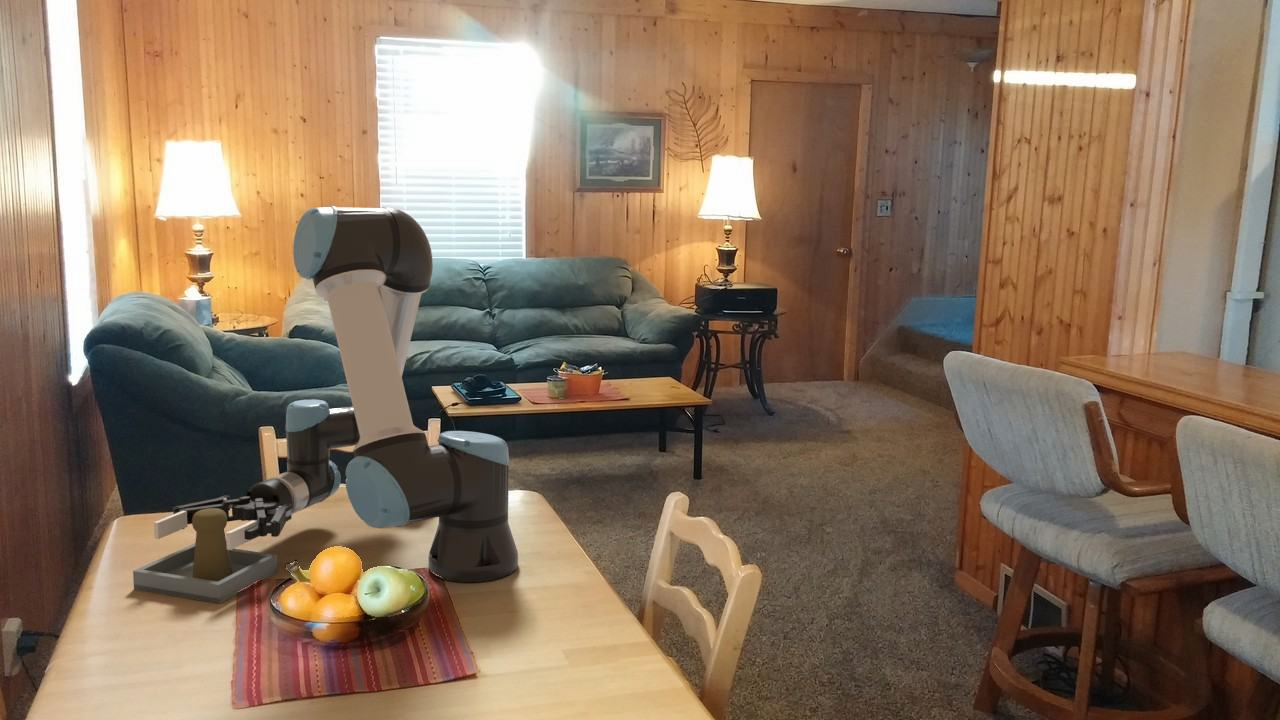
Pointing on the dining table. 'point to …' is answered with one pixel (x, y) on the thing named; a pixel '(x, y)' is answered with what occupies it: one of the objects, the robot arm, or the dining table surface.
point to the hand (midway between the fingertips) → (191, 536)
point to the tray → (177, 579)
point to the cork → (211, 545)
